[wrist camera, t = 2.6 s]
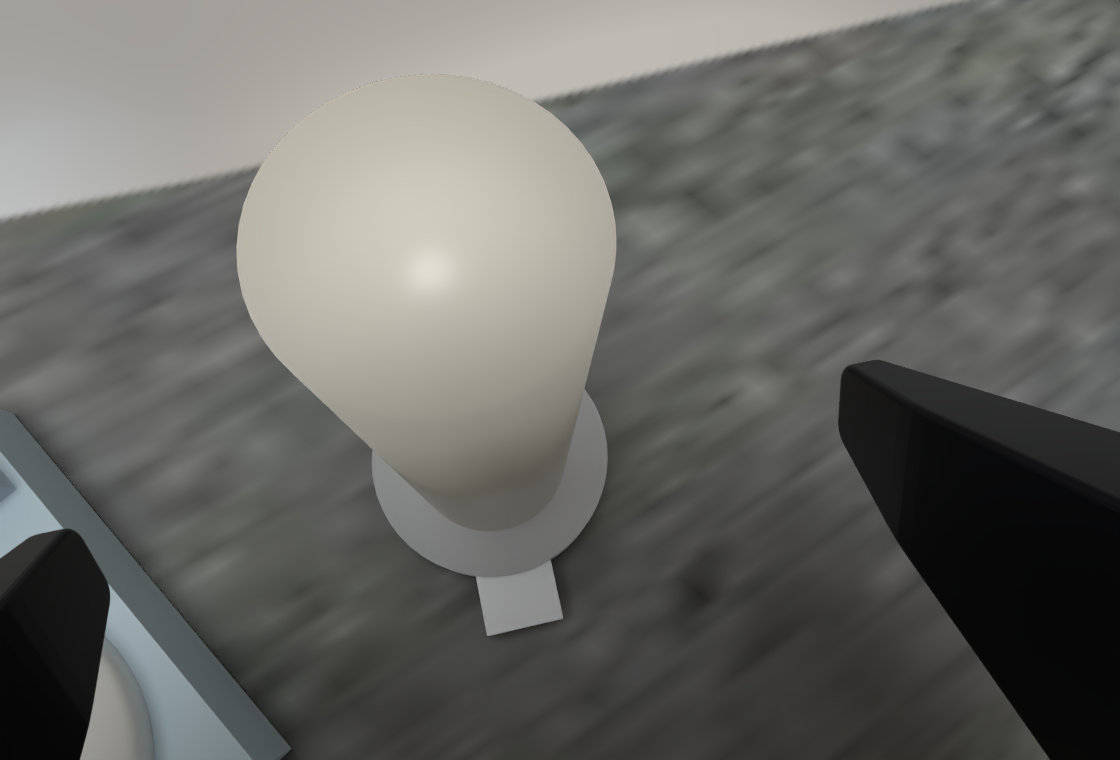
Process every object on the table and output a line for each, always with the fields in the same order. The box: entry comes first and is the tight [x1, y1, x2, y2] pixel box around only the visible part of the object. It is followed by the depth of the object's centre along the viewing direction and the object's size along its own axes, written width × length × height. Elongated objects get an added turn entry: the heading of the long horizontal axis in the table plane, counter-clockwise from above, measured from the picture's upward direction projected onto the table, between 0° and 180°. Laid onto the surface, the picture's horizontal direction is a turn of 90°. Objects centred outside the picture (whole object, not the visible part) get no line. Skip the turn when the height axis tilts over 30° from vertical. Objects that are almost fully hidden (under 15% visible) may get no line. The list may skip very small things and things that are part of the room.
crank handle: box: [236, 74, 616, 636], centre depth 12 cm, size 6×5×12 cm
